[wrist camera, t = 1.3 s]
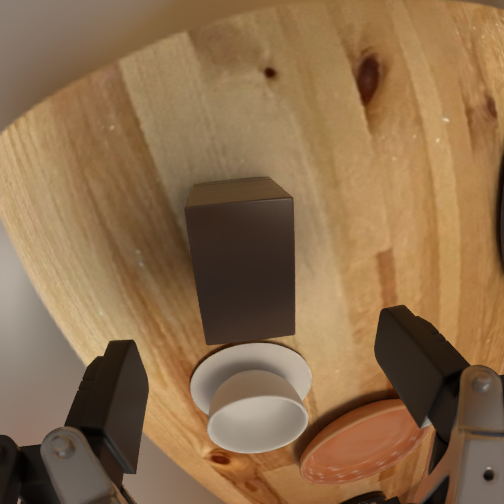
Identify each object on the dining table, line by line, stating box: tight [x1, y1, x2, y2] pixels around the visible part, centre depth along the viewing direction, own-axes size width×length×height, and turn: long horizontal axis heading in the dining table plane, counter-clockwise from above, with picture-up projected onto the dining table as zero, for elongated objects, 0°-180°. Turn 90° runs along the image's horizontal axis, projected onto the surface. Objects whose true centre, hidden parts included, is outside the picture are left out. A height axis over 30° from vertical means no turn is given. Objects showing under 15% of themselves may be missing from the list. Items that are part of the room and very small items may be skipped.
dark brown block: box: [185, 177, 295, 345], centre depth 17 cm, size 7×4×6 cm, turn 4°
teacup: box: [190, 343, 312, 453], centre depth 22 cm, size 10×10×5 cm
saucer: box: [299, 399, 432, 485], centre depth 28 cm, size 16×16×3 cm
